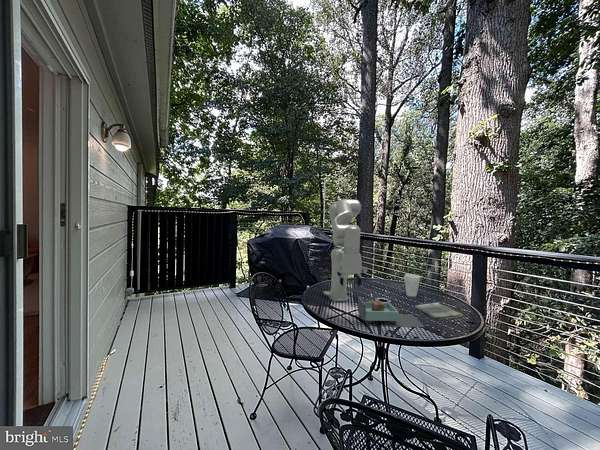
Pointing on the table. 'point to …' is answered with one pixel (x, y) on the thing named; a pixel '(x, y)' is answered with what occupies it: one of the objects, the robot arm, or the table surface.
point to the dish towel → (438, 311)
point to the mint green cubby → (377, 312)
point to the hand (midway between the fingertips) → (350, 285)
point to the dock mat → (405, 321)
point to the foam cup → (412, 284)
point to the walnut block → (378, 306)
